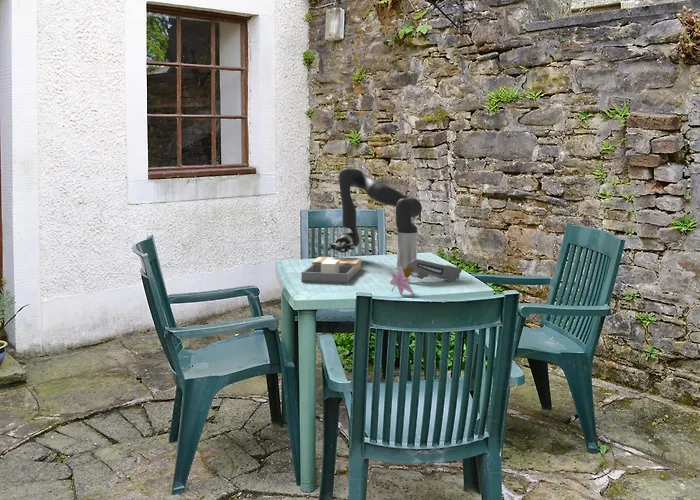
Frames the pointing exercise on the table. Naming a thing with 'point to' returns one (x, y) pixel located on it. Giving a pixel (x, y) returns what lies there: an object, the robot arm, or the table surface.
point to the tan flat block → (341, 261)
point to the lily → (400, 281)
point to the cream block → (330, 266)
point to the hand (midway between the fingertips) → (338, 248)
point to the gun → (432, 270)
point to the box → (328, 274)
